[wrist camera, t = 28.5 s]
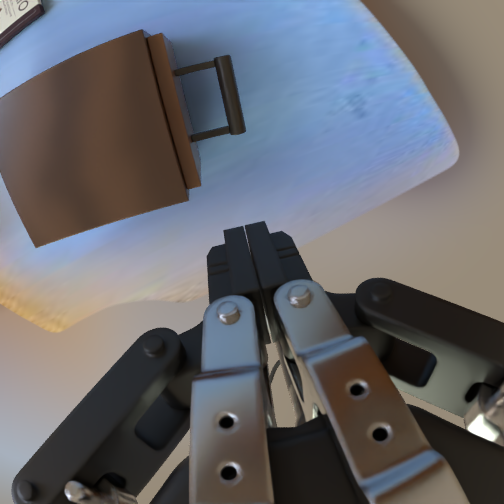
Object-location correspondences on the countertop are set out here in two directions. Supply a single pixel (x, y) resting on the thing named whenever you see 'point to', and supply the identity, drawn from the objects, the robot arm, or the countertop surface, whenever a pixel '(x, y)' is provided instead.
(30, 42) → the countertop surface
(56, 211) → the cabinet
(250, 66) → the countertop surface
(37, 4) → the chocolate bar
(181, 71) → the drawer
